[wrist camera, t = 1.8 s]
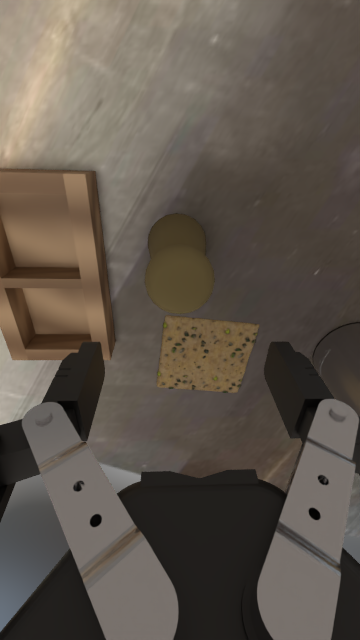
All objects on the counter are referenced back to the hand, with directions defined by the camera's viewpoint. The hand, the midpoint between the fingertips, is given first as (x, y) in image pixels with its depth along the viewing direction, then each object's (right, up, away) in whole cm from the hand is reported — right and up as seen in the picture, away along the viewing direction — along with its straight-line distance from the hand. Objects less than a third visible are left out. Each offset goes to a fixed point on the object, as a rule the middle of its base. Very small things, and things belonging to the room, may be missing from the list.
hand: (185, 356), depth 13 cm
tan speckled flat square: (+3, -3, +24) cm, 24 cm away
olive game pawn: (-1, +10, +16) cm, 18 cm away
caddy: (-14, +7, +16) cm, 23 cm away
